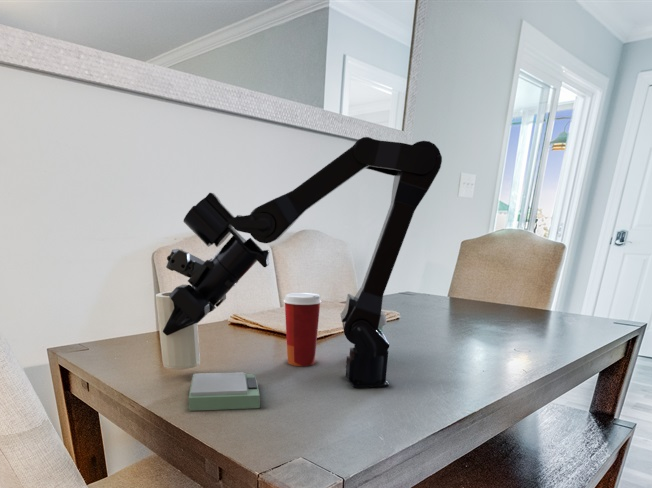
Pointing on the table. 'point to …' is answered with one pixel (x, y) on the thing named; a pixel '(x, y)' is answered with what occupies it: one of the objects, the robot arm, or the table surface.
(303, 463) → the table surface
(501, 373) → the table surface
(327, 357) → the table surface
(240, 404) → the scale
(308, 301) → the paper cup
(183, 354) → the canister
